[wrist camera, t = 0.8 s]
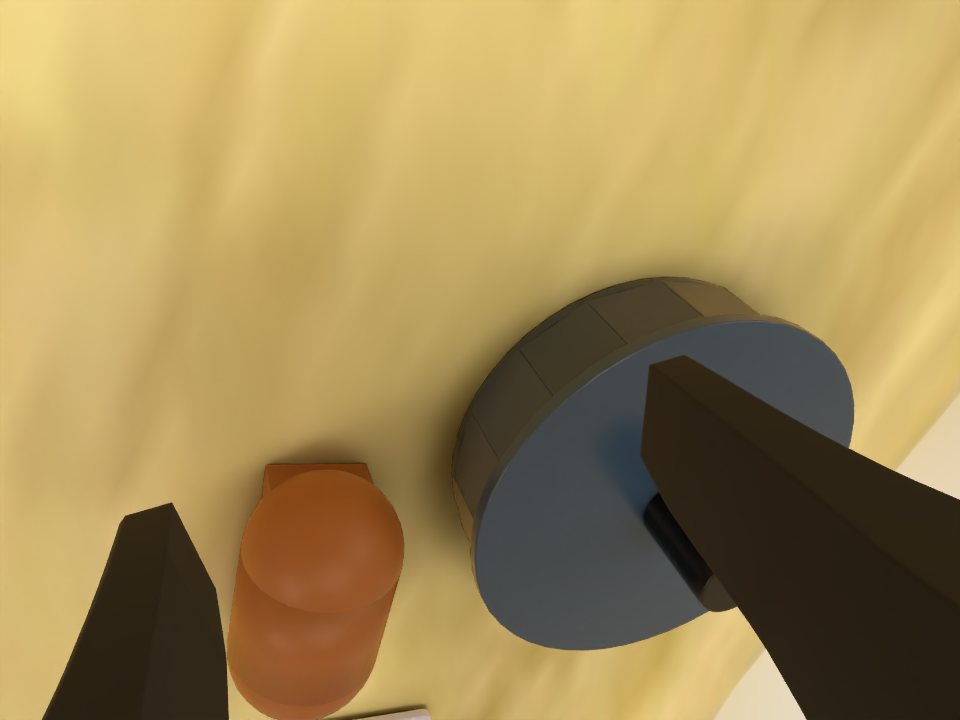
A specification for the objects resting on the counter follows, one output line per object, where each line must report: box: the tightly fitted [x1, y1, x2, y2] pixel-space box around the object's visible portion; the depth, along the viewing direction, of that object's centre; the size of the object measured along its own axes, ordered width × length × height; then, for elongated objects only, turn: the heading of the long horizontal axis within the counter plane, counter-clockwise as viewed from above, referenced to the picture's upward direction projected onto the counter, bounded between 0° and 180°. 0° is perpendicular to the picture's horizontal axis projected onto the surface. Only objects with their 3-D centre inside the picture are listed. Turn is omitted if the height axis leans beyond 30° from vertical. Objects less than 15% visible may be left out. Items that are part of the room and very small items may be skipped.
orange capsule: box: [227, 463, 404, 720], centre depth 24 cm, size 9×5×5 cm, turn 164°
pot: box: [452, 277, 760, 544], centre depth 27 cm, size 13×13×3 cm
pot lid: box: [470, 313, 854, 650], centre depth 24 cm, size 14×14×4 cm
